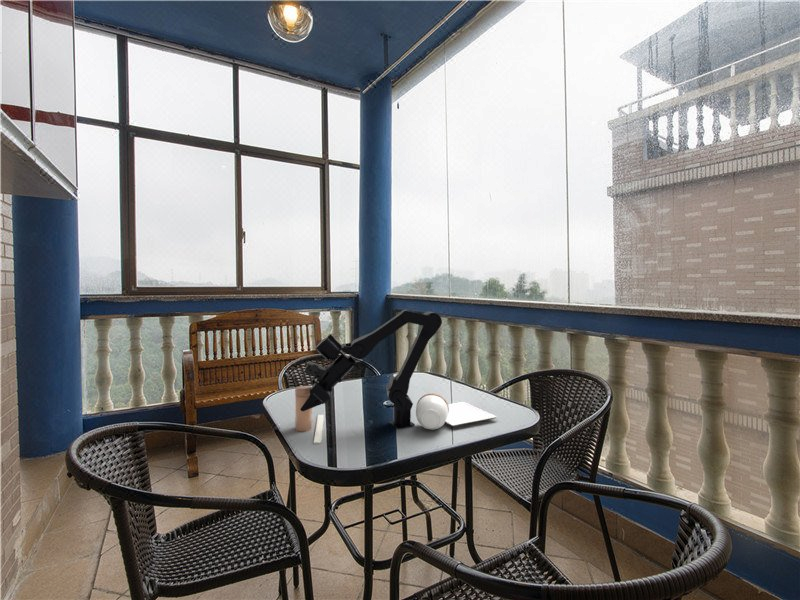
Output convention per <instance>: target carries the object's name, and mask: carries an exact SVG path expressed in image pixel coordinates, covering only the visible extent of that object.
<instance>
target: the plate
mask: <svg viewBox="0 0 800 600" xmlns="http://www.w3.org/2000/svg"><path fill="white" fill-rule="evenodd" d="M447 404H448V403H447ZM448 407H449V414H448V417H447V420H446V422H445V423H444V424H448V425H449V426H451V427H454V428H455V427H459V426H464V425H470V423H471V424H475V422H476V423H479V422H480V421H481V422H485V420H486V421H490V420H494V419H497V417H498V416H496V415H494V414H492V413H490V412H488V411H486V410H483V409H481V408H479V407H477V406H474V405H472V404H470V403H467V402H466V401H461V402H460V401H459V402H454V403H449V404H448ZM481 422H480V423H481Z"/></svg>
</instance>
